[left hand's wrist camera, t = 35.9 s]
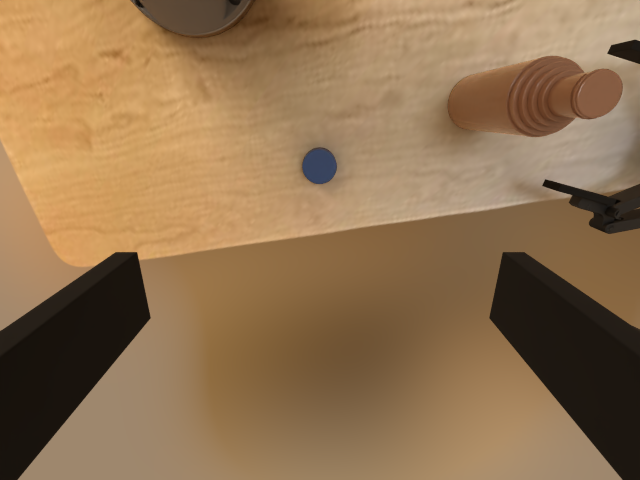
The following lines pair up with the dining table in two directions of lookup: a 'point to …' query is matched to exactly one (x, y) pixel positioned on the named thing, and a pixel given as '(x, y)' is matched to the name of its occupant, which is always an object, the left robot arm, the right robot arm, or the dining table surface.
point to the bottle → (533, 97)
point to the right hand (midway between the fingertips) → (583, 120)
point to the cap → (319, 165)
